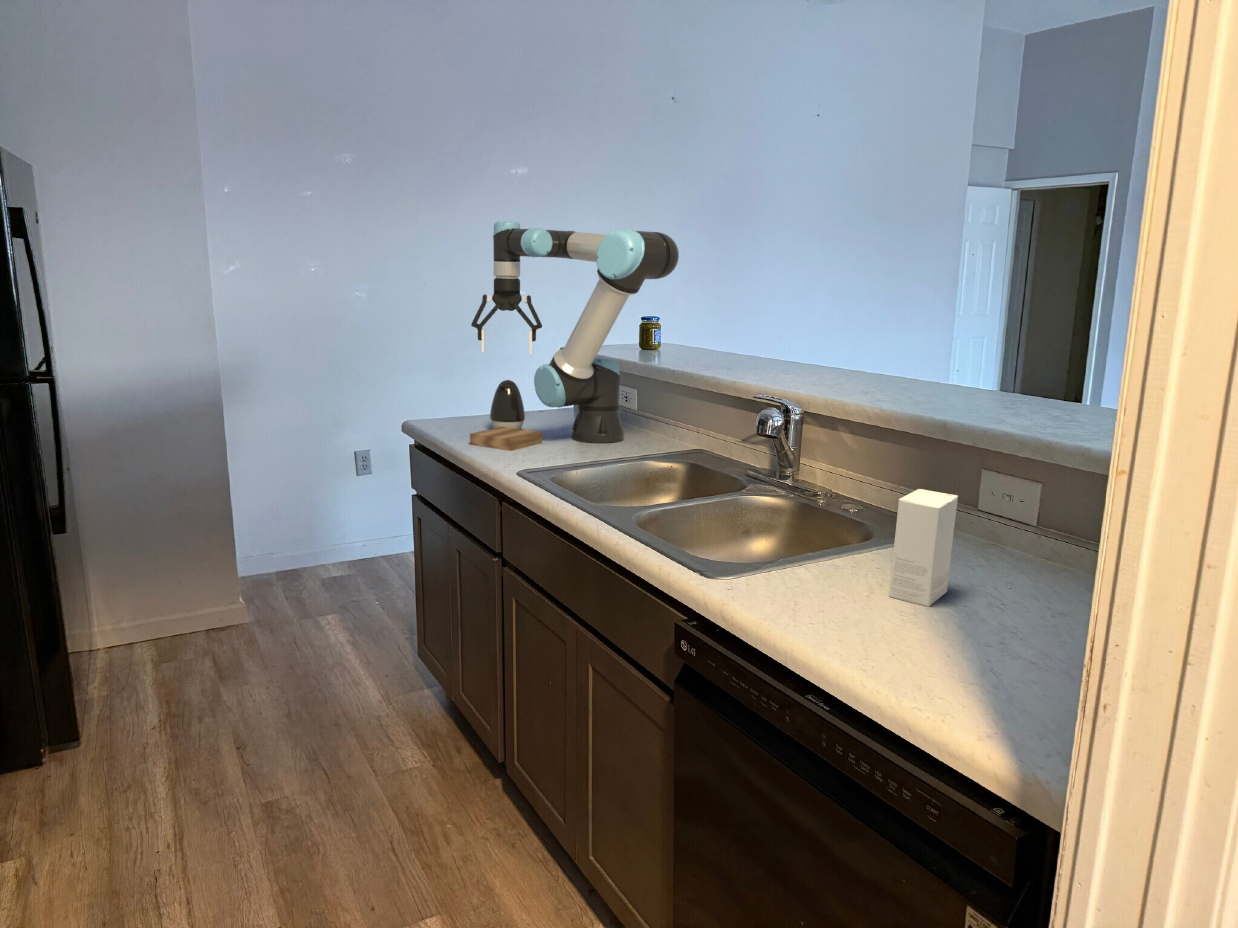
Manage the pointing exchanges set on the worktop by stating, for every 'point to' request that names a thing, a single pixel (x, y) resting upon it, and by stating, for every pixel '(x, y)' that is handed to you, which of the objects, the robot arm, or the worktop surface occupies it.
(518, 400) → the glossy black egg shape
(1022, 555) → the worktop surface
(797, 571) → the worktop surface
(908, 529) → the skincare box
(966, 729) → the worktop surface
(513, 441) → the walnut stand
